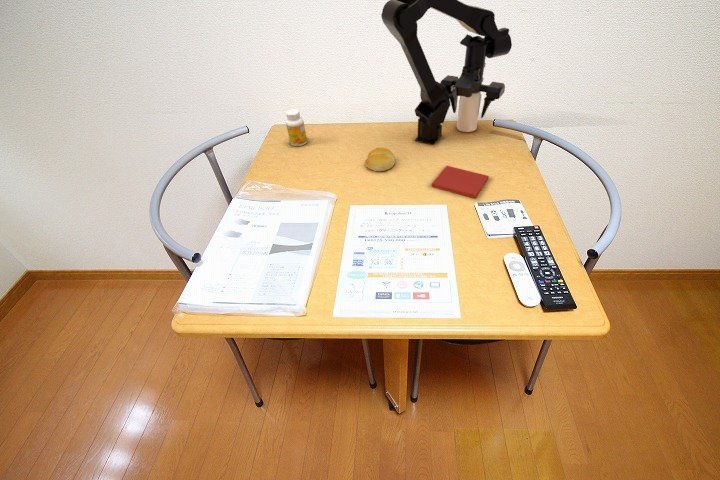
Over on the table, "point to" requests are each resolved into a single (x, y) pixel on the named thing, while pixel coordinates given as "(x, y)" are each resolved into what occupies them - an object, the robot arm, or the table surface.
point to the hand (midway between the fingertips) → (468, 115)
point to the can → (468, 112)
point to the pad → (460, 181)
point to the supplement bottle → (295, 128)
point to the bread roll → (380, 159)
